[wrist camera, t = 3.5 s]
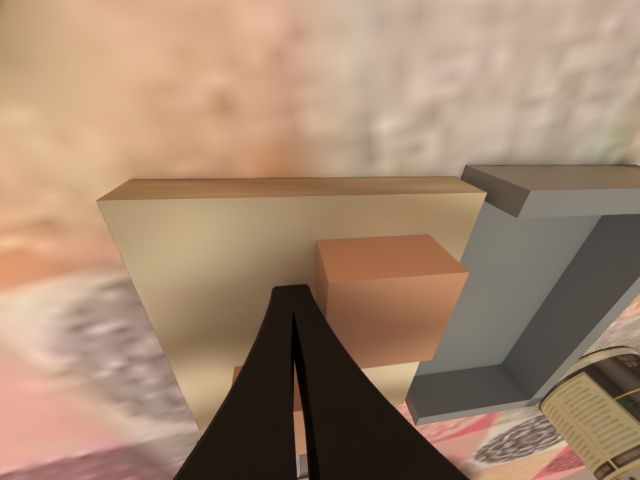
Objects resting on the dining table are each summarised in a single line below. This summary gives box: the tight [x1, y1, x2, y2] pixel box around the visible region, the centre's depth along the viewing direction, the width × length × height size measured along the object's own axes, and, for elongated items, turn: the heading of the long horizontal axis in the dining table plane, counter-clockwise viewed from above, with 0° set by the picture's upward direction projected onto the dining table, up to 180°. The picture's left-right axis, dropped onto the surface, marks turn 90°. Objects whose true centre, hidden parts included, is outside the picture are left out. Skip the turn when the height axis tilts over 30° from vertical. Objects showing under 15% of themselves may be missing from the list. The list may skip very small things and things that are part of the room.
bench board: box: [96, 177, 487, 434], centre depth 13 cm, size 15×13×2 cm
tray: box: [405, 165, 640, 426], centre depth 14 cm, size 16×9×3 cm, turn 178°
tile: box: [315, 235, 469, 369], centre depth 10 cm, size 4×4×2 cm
